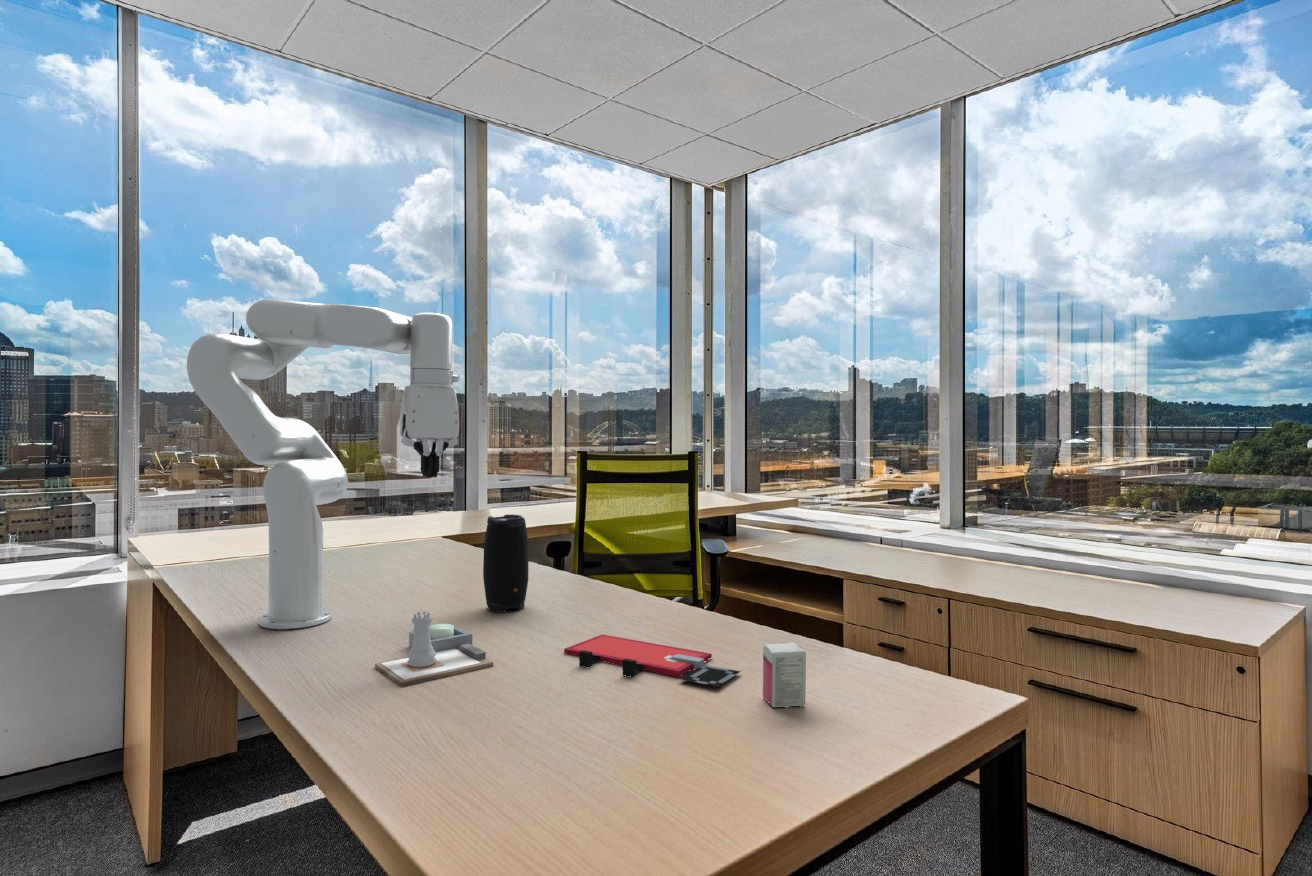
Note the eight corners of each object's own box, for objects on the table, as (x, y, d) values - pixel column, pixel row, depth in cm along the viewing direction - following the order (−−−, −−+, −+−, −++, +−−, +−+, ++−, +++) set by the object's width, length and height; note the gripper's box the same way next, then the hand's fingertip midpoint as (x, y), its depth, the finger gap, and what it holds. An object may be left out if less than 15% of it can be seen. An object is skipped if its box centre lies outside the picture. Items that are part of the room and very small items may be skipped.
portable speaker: (529, 612, 150) (530, 518, 149) (483, 614, 147) (484, 519, 147) (526, 602, 158) (526, 513, 158) (482, 604, 156) (483, 514, 155)
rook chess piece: (427, 669, 111) (427, 618, 111) (401, 667, 112) (401, 616, 112) (441, 660, 116) (442, 611, 116) (416, 658, 117) (416, 609, 117)
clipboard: (374, 667, 115) (375, 657, 114) (462, 649, 124) (462, 640, 124) (401, 686, 106) (401, 675, 106) (493, 665, 116) (493, 655, 116)
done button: (423, 643, 126) (423, 626, 125) (447, 639, 128) (447, 622, 128) (433, 649, 122) (433, 632, 122) (458, 645, 125) (458, 627, 125)
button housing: (409, 646, 126) (409, 631, 126) (452, 637, 131) (452, 624, 131) (427, 657, 120) (427, 642, 120) (472, 648, 125) (472, 634, 125)
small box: (794, 696, 104) (795, 641, 104) (806, 707, 100) (806, 651, 100) (761, 697, 104) (762, 643, 103) (771, 709, 99) (772, 652, 99)
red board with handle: (711, 696, 104) (752, 669, 117) (711, 677, 104) (753, 652, 117) (549, 662, 120) (602, 642, 132) (550, 645, 120) (602, 626, 132)
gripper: (459, 382, 143) (458, 474, 143) (384, 378, 134) (382, 477, 134) (476, 381, 137) (475, 477, 138) (399, 376, 128) (397, 479, 128)
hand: (429, 476), depth 136 cm, fingers closed
